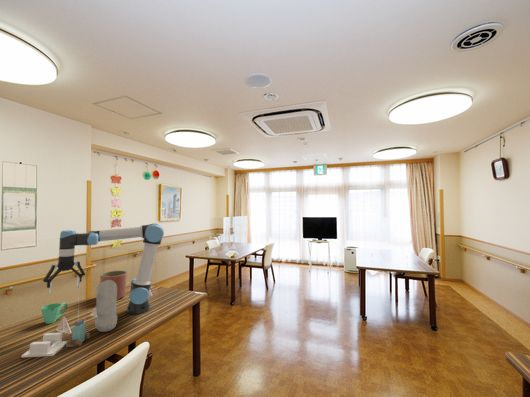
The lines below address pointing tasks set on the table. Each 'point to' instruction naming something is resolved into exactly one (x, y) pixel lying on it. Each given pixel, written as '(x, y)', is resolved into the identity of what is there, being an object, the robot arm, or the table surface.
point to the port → (46, 346)
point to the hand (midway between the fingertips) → (64, 290)
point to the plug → (79, 330)
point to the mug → (52, 312)
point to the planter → (116, 281)
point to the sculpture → (106, 306)
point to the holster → (76, 341)
